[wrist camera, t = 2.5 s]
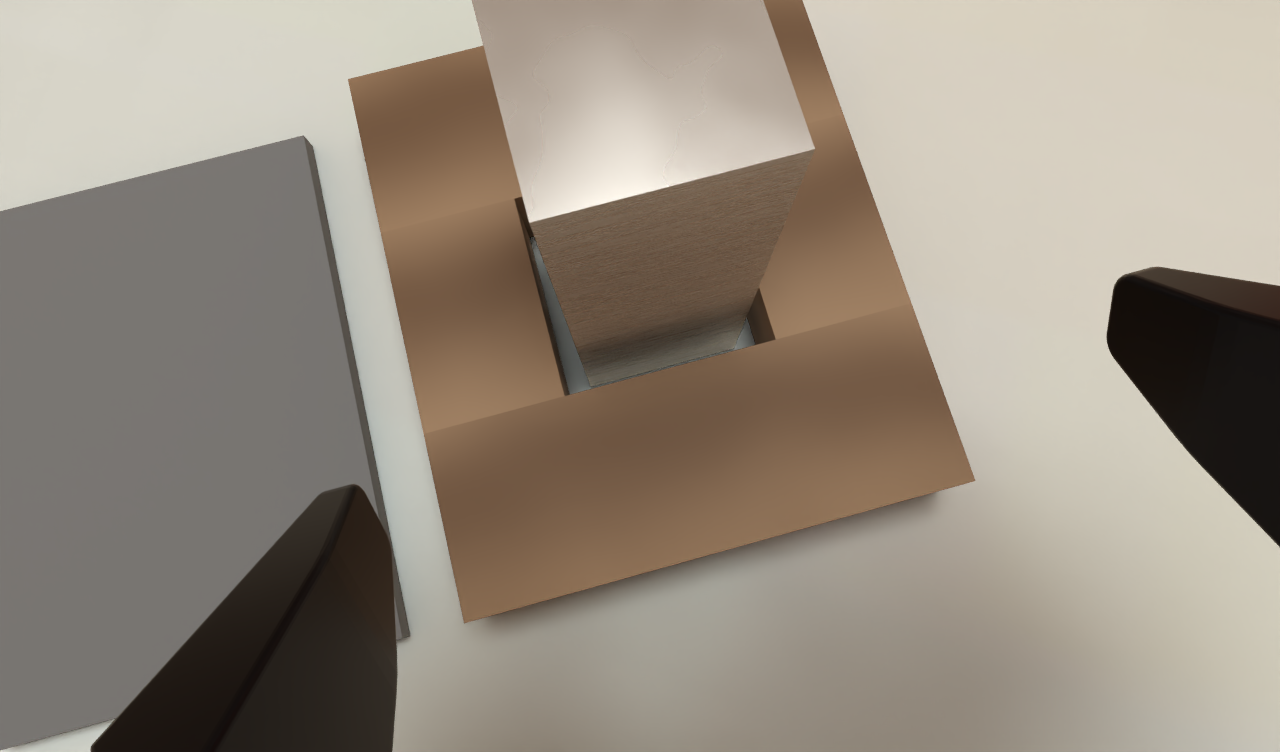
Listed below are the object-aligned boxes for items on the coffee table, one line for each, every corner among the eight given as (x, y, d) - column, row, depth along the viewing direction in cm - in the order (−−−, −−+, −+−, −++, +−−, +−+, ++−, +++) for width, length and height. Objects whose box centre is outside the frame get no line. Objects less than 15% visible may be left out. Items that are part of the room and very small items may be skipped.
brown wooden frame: (937, 488, 21) (975, 480, 18) (487, 614, 20) (464, 623, 18) (776, 29, 24) (790, -31, 21) (380, 129, 23) (347, 79, 21)
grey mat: (409, 635, 20) (402, 638, 19) (14, 746, 20) (-6, 751, 19) (312, 146, 23) (303, 135, 22) (-34, 232, 23) (-52, 224, 22)
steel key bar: (733, 348, 22) (815, 149, 11) (590, 386, 21) (529, 222, 11) (692, 215, 22) (730, -93, 12) (555, 251, 22) (464, -28, 11)
